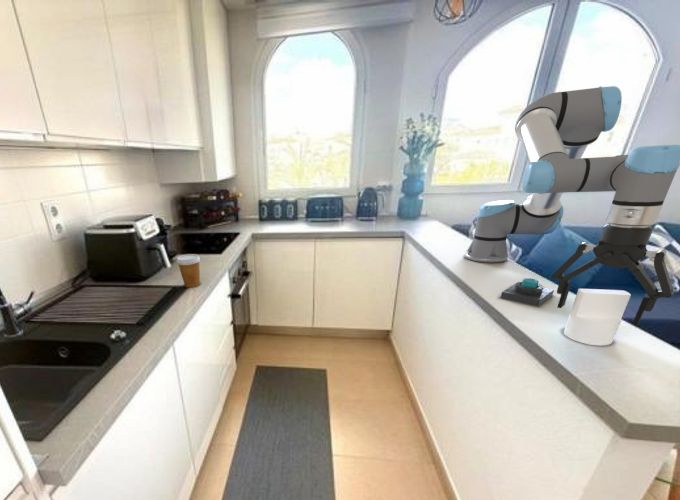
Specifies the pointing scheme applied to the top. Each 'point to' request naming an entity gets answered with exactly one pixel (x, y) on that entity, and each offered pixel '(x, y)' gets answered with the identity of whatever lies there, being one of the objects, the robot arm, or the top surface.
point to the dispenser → (527, 294)
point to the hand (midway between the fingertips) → (595, 314)
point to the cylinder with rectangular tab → (596, 315)
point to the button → (530, 283)
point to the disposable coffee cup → (189, 269)
